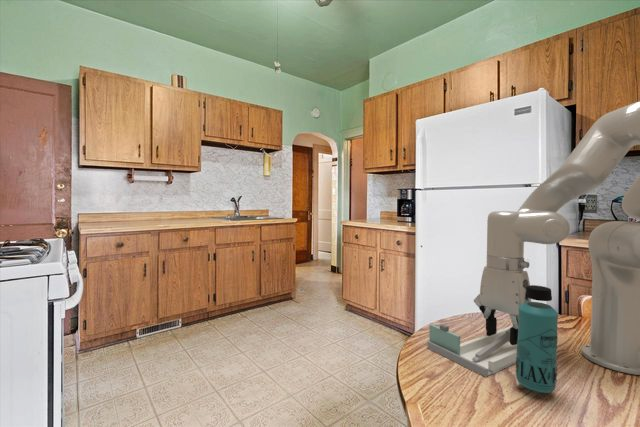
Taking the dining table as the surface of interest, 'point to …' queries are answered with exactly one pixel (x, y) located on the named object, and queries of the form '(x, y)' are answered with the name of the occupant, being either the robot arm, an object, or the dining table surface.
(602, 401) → the dining table surface
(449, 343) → the gate
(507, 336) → the caliper
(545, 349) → the beverage bottle
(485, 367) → the housing
